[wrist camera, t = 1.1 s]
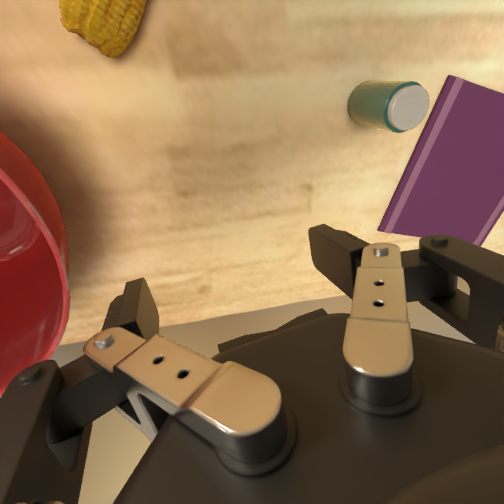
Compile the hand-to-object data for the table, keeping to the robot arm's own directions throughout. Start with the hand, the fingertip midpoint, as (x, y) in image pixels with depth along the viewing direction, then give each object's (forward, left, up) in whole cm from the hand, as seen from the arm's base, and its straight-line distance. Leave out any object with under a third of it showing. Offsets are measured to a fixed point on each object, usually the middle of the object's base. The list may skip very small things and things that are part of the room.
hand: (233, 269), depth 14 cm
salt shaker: (-10, +17, -23) cm, 31 cm away
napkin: (-5, +36, -23) cm, 43 cm away
